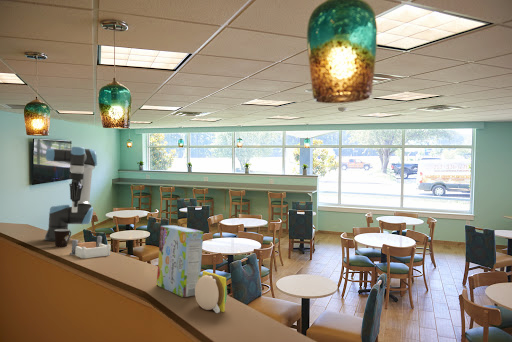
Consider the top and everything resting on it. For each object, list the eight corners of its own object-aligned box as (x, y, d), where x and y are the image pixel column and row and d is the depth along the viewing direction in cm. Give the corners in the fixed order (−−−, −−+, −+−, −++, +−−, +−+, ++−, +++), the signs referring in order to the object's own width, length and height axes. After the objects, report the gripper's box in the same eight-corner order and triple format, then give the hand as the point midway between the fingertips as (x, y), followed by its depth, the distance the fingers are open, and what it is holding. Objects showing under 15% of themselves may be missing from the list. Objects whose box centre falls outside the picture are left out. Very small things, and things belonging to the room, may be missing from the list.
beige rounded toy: (189, 306, 135) (191, 273, 135) (206, 301, 141) (208, 270, 142) (211, 315, 127) (213, 280, 127) (228, 310, 133) (230, 276, 134)
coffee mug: (57, 248, 223) (58, 231, 223) (50, 246, 228) (51, 229, 228) (76, 246, 232) (77, 230, 232) (69, 244, 237) (70, 228, 237)
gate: (72, 253, 207) (73, 240, 207) (70, 252, 209) (71, 239, 209) (96, 250, 216) (97, 238, 216) (94, 250, 218) (95, 238, 218)
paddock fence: (68, 254, 209) (69, 238, 209) (98, 250, 221) (99, 235, 222) (79, 258, 198) (80, 242, 199) (110, 255, 211) (111, 239, 211)
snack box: (201, 294, 149) (204, 230, 150) (182, 298, 143) (186, 232, 144) (173, 282, 165) (176, 224, 165) (155, 285, 159) (158, 225, 159)
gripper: (65, 172, 222) (63, 211, 222) (75, 173, 213) (72, 213, 213) (78, 172, 227) (75, 210, 227) (88, 173, 219) (85, 213, 219)
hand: (74, 212), depth 220 cm, fingers closed
